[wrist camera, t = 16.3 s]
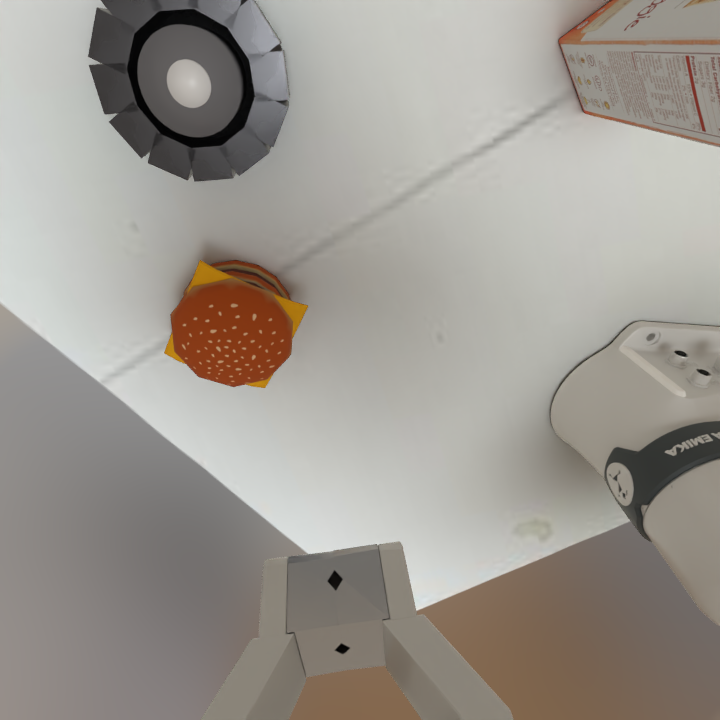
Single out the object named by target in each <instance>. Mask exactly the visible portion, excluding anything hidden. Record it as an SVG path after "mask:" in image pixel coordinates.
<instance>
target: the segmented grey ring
mask: <svg viewBox="0 0 720 720" xmlns="http://www.w3.org/2000/svg"><path fill="white" fill-rule="evenodd" d="M101 1H102V2H103V4H104V5H105V6H106V8H107V9H103V8H97V10H96V15H95V21H94V27H93V32H92V38H91V44H90V49H89V55H88V57H90V58H92V59H94V60H96V61H98V62H100V63H103V64H96V65H89V67H90V70H91V73H92V76H93V79H94V83H95V86H96V89H97V92H98V95H99V98H100V101H101V104H102V108H103V111H104V114H114V113H119V114H117V115H116V116H115V117H114V118H113V119H112V120H111V121H109V122H110V124H111V125H112V126H113V127H114V128H115V129H116V130H117V131H118V132H119V134H120V135H121V136H122V137H123V138H124V139H125V140H126V141H127V143H128V144H129V145H130V146H131V147H132V148H133V149H134V150H135V152H136V153H137V154H138V155H139V156H140V157H141V158H142V157H144V156H145V155H146V154H148V153H149V152H150V151H151V152H150V156H149V160H148V163H149V164H151V165H154V166H156V167H158V168H161V169H163V170H165V171H167V172H170V173H172V174H174V175H177V176H179V177H181V178H183V179H186V180H188V179H189V178H190V177H191V175H192V174H193V177H194V181H207V180H218V179H230V178H234V175H235V173H236V172H237V174H238V175H239V176H240V175H241V174H242V173H244V172H245V171H246V170H247V169H249V168H250V167H251V166H253V165H254V164H255V163H256V162H258V161H259V160H260V159H262V158H263V157H264V156H266V155H267V154H268V153H269V152H270V148H271V146H272V147H274V144H275V141H276V139H277V136H278V133H279V130H280V128H281V125H282V122H283V120H284V117H285V114H286V112H287V109H288V104H289V101H287V100H289V95H290V93H289V85H288V77H287V69H286V61H285V53H284V50H282V49H281V46H280V43H281V41H280V39H279V38H278V36H277V35H276V33H275V31H274V30H273V28H272V27H271V25H270V23H269V22H268V20H267V19H266V17H265V16H264V14H263V12H262V11H261V9H260V8H259V6H258V5H257V3H256V1H255V0H101ZM175 24H183V25H191V26H199V27H204V28H208V29H210V30H213V31H215V32H217V33H218V34H220V35H221V36H223V37H224V38H225V39H226V40H227V41H228V42H229V43H230V44H231V45H232V46H233V47H234V49H235V50H236V51H237V53H238V55H239V56H240V59H241V61H242V63H243V66H244V69H245V73H246V80H247V89H246V96H245V100H244V102H243V105H242V107H241V108H240V110H239V111H238V113H237V114H236V115H235V116H234V118H233V119H232V120H231V121H230V122H229V124H228V125H227V126H226V127H225V128H223V129H222V130H221V131H219V132H217V133H215V134H213V135H210V136H206V137H189V136H185V135H182V134H179V133H177V132H175V131H173V130H171V129H170V128H168V127H167V126H165V125H164V124H163V123H162V122H161V121H159V120H158V119H157V117H156V116H155V115H154V114H153V113H152V111H151V110H150V109H149V107H148V105H147V104H146V102H145V100H144V98H143V96H142V93H141V90H140V86H139V82H138V74H137V72H138V60H139V56H140V52H141V50H142V48H143V45H144V44H145V42H146V41H147V39H148V38H149V37H150V36H151V35H152V34H153V33H155V32H156V31H157V30H159V29H161V28H163V27H166V26H169V25H175Z"/></svg>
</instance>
